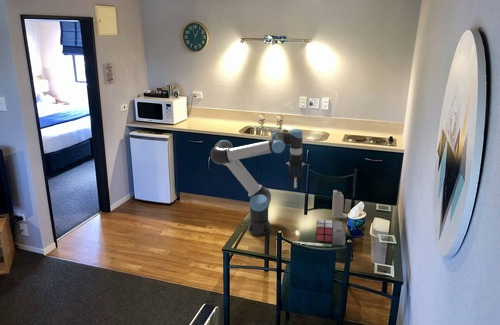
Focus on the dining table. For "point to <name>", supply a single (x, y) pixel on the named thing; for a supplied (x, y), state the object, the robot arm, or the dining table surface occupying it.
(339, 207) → the beige l-shaped block
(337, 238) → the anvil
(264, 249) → the dining table surface
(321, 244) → the scale strip
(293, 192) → the dining table surface
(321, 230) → the puzzle cube
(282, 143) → the robot arm
